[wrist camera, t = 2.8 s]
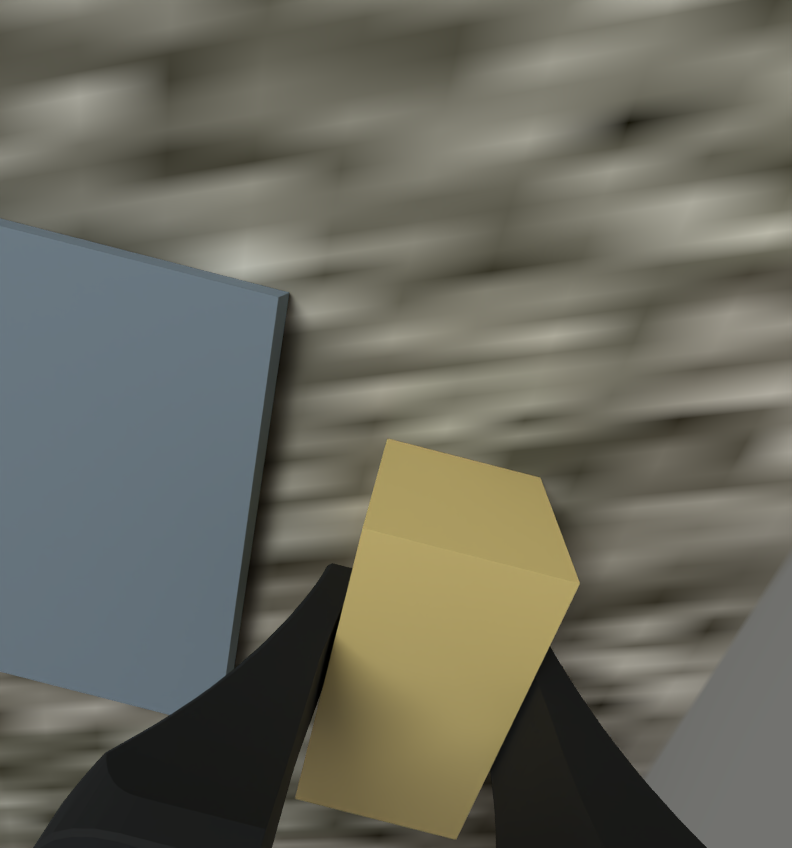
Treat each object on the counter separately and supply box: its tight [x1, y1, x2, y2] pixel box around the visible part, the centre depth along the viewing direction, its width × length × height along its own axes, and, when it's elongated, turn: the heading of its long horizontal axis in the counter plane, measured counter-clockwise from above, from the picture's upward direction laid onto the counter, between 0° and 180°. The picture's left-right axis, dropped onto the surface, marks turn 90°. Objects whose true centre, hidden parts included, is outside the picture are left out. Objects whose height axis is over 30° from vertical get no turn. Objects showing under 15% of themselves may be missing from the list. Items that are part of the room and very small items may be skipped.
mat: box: [0, 219, 289, 715], centre depth 14 cm, size 14×12×1 cm
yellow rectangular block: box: [295, 439, 580, 840], centre depth 12 cm, size 8×4×4 cm, turn 167°
